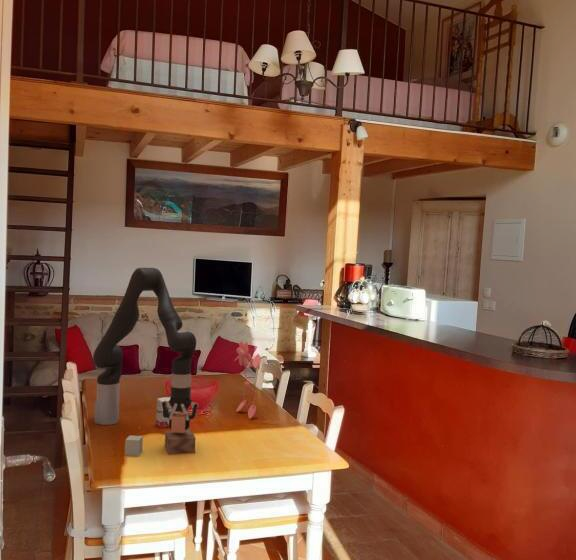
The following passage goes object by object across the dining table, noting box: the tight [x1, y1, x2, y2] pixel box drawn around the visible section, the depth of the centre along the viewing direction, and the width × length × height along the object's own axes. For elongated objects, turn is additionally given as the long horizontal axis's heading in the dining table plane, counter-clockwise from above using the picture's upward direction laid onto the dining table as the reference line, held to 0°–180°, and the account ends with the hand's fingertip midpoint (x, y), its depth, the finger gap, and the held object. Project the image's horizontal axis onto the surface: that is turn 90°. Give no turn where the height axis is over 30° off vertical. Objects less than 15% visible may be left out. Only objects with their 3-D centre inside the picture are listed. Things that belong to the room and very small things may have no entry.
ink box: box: [155, 396, 180, 429], centre depth 263 cm, size 8×5×12 cm, turn 123°
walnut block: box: [164, 429, 196, 456], centre depth 234 cm, size 10×10×6 cm
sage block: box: [124, 435, 144, 457], centre depth 227 cm, size 5×5×6 cm
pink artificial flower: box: [226, 340, 262, 423], centre depth 281 cm, size 15×26×35 cm, turn 30°
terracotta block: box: [170, 412, 186, 433], centre depth 234 cm, size 5×5×6 cm
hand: (179, 428), depth 234 cm, fingers closed on terracotta block, 5 cm apart
